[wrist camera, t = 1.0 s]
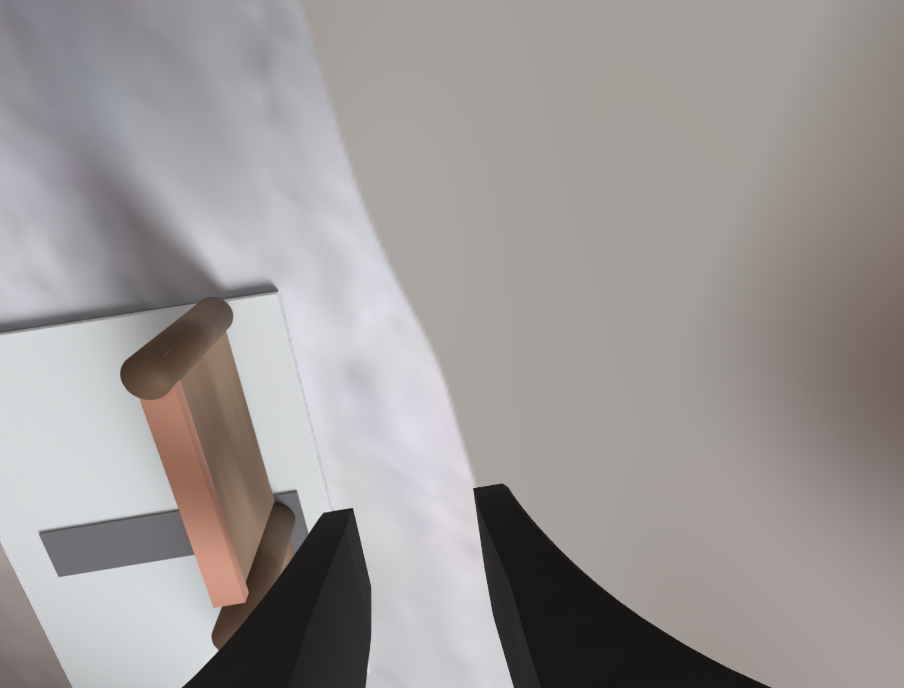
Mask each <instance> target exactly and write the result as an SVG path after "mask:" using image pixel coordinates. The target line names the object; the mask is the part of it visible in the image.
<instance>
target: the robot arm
mask: <svg viewBox="0 0 904 688" xmlns="http://www.w3.org/2000/svg"><path fill="white" fill-rule="evenodd" d="M473 490H474V497H475V504H476V511H477V518H478V525H479V532H480V539H481V547H482V554H483V561H484V568H485V573H486V579H487V584H488V590H489V595H490V601H491V606H492V612H493V617H494V620H495V624H496V627H497V631H498V634H499V638H500V641H501V644H502V648H503V651H504V655H505V658H506V662H507V665H508V669H509V672H510V676H511V679H512V682H513V686H514V688H771V687H768V686H766V685H764V684H762V683H760V682H757V681H755V680H753V679H751V678H749V677H747V676H745V675H742V674H740V673H738V672H735V671H734V670H731V669H729V668H727V667H725V666H723V665H721V664H720V663H718V662H716V661H714V660H712V659H710V658H708V657H706V656H705V655H703V654H701V653H699V652H697V651H695V650H694V649H692V648H690V647H688V646H686V645H685V644H683V643H681V642H680V641H678V640H676V639H675V638H673V637H672V636H670V635H668V634H667V633H665V632H664V631H662V630H661V629H659V628H657V627H656V626H654V625H653V624H651V623H650V622H648V621H646V620H645V619H643V618H641V617H640V616H639V615H638V614H636V613H635V612H633V611H632V610H631V609H629V608H628V607H626V606H625V605H624V604H622V603H621V602H620V601H618V600H617V599H616V598H615V597H613V596H612V595H611V594H609V593H608V592H607V591H606V590H604V589H603V588H602V587H600V586H599V585H598V584H597V583H596V582H595V581H593V580H592V579H591V578H590V577H589V576H588V575H586V574H585V573H584V572H583V571H582V570H581V569H580V568H579V567H578V566H577V565H575V564H574V563H573V562H572V561H571V560H570V559H569V558H568V557H567V556H566V555H565V554H564V553H563V552H562V551H561V550H560V549H559V548H558V547H557V546H556V545H555V544H554V543H553V542H552V541H551V540H550V539H549V538H548V537H547V535H546V534H545V533H544V532H543V531H542V530H541V529H540V528H539V527H538V526H537V525H536V523H535V522H534V521H533V520H532V519H531V518H530V516H529V515H528V514H527V513H526V512H525V510H524V509H523V508H522V506H521V505H520V504H519V502H518V501H517V500H516V498H515V497H514V496H513V494H512V493H511V491H510V489H509V488H508V487H507V486H505V485H504V484H496V485H490V486H484V487H478V488H473ZM370 642H371V584H370V580H369V576H368V571H367V567H366V563H365V558H364V554H363V550H362V545H361V541H360V537H359V532H358V528H357V523H356V519H355V515H354V510H353V508H349V509H343V510H337V511H331V512H325V513H323V514H322V515H321V516H320V518H319V519H318V520H317V522H316V523H315V525H314V526H313V528H312V529H311V531H310V532H309V534H308V535H307V537H306V538H305V540H304V541H303V543H302V544H301V546H300V547H299V549H298V550H297V552H296V553H295V555H294V556H293V557H292V559H291V560H290V562H289V563H288V565H287V566H286V567H285V569H284V570H283V572H282V573H281V574H280V576H279V577H278V578H277V580H276V581H275V583H274V584H273V585H272V587H271V588H270V589H269V591H268V592H267V593H266V595H265V596H264V597H263V599H262V600H261V601H260V602H259V604H258V605H257V606H256V607H255V609H254V610H253V611H252V612H251V614H250V615H249V616H248V617H247V619H246V620H245V621H244V622H243V624H242V625H241V626H240V627H239V628H238V630H237V631H236V632H235V633H234V634H233V635H232V637H231V638H230V639H229V640H228V641H227V642H226V643H225V644H224V645H223V647H222V648H221V649H220V650H219V651H218V652H217V653H216V654H215V655H214V656H213V657H212V658H211V659H210V660H209V661H208V662H207V663H206V664H205V666H204V667H203V668H202V669H201V670H200V671H199V672H198V673H197V674H196V675H195V676H194V677H193V678H192V679H190V680H189V681H188V682H187V683H186V684H185V685H184V686H183V687H182V688H365V686H366V677H367V669H368V660H369V651H370Z"/></svg>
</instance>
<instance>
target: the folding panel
mask: <svg viewBox="0 0 904 688" xmlns="http://www.w3.org/2000/svg"><path fill="white" fill-rule="evenodd" d="M232 322H233V311H232V309H231V307H230V306H229V305H228V304H227V303H226V302H225V301H224V300H222V299H219V298H215V297H209V298H205V299H203V300H202V301H200V302H199V303H198V304H196V305H195V306H194V307H193V308H191V309H190V310H189V311H187V312H186V313H185V314H184V315H182V316H181V317H180V318H179V319H177V320H176V321H175V322H173V323H172V324H171V325H170V326H168V327H167V328H166V329H165V330H163V331H162V332H161V333H159V334H158V335H157V336H156V337H154V338H153V339H152V340H151V341H149V342H148V343H147V344H145V345H144V346H143V347H142V348H140V349H139V350H138V351H137V352H135V353H134V354H133V355H131V356H130V357H129V358H128V359H126V360H125V361H124V363H123V364H122V366H121V370H120V378H121V381H122V384H123V385H124V387H125V388H126V390H127V391H128V392H130V393H131V394H132V395H134V396H136V397H138V398H139V399H140V402H141V405H142V408H143V411H144V413H145V416H146V419H147V422H148V425H149V428H150V430H151V433H152V436H153V439H154V442H155V444H156V447H157V450H158V453H159V456H160V459H161V461H162V464H163V467H164V470H165V473H166V475H167V478H168V481H169V484H170V487H171V490H172V492H173V495H174V498H175V501H176V504H177V506H178V509H179V512H180V515H181V518H182V521H183V523H184V526H185V529H186V532H187V535H188V537H189V540H190V543H191V546H192V549H193V552H194V554H195V557H196V560H197V563H198V566H199V568H200V571H201V574H202V577H203V580H204V582H205V585H206V588H207V591H208V594H209V597H210V599H211V602H212V605H213V608H216V607H222V606H228V605H234V604H240V603H245V602H246V599H247V596H248V593H249V591H248V588H247V585H246V580H247V577H248V574H249V571H250V569H251V566H252V563H253V560H254V557H255V555H256V552H257V549H258V546H259V543H260V540H261V538H262V535H263V532H264V529H265V526H266V524H267V521H268V518H269V515H270V512H271V510H272V507H273V504H274V497H273V494H272V490H271V487H270V483H269V480H268V476H267V473H266V469H265V466H264V462H263V459H262V455H261V452H260V448H259V445H258V441H257V438H256V434H255V431H254V427H253V424H252V420H251V417H250V413H249V409H248V406H247V402H246V399H245V395H244V392H243V388H242V385H241V381H240V378H239V374H238V371H237V367H236V364H235V360H234V357H233V353H232V350H231V346H230V343H229V339H228V336H227V332H226V331H227V329H228V328H229V327H230V326H231V325H232Z"/></svg>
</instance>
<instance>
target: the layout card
mask: <svg viewBox="0 0 904 688" xmlns="http://www.w3.org/2000/svg"><path fill="white" fill-rule="evenodd" d="M222 300H224V301H225V302H226V303H227V304H228V305H229V306H230V307H231V309H232V311H233V322H232V325H231V326H230V327H229V328H228V329H227V331H226V332H227V336H228V339H229V343H230V346H231V350H232V353H233V357H234V360H235V364H236V367H237V371H238V374H239V378H240V381H241V385H242V388H243V392H244V395H245V399H246V402H247V406H248V409H249V413H250V417H251V420H252V424H253V427H254V431H255V434H256V438H257V441H258V445H259V448H260V452H261V455H262V459H263V462H264V466H265V469H266V473H267V476H268V480H269V483H270V487H271V490H272V494H273V497H274V503H280V504H283V505H286V506H287V507H289V508H290V509H291V510H292V511H293V513H294V515H295V524H294V527H293V531H292V534H291V538H290V540H291V543H292V547H293V550H294V554H295V553H296V552H297V550H298V549H299V547H300V546H301V544H302V543H303V541H304V540H305V538H306V537H307V535H308V534H309V532H310V531H311V529H312V528H313V526H314V525H315V523H316V522H317V520H318V519H319V518H320V516H321V515H322V514H323V513H325V512H331V511H333V510H332V506H331V502H330V498H329V494H328V490H327V486H326V482H325V478H324V474H323V469H322V465H321V461H320V457H319V453H318V449H317V445H316V441H315V437H314V433H313V429H312V425H311V421H310V416H309V412H308V408H307V404H306V400H305V396H304V392H303V388H302V384H301V380H300V376H299V372H298V367H297V363H296V359H295V355H294V351H293V347H292V343H291V339H290V335H289V331H288V327H287V323H286V318H285V314H284V310H283V306H282V302H281V298H280V294H279V291H276V292H269V293H262V294H256V295H249V296H242V297H236V298H229V299H222ZM196 304H198V303H196ZM196 304H189V305H182V306H176V307H169V308H162V309H156V310H149V311H142V312H136V313H129V314H122V315H116V316H109V317H102V318H96V319H89V320H82V321H76V322H69V323H62V324H56V325H49V326H42V327H36V328H29V329H22V330H16V331H9V332H2V333H0V542H1V544H2V546H3V548H4V550H5V552H6V554H7V556H8V558H9V560H10V562H11V565H12V567H13V569H14V571H15V573H16V575H17V577H18V579H19V581H20V583H21V585H22V587H23V589H24V591H25V593H26V595H27V597H28V599H29V601H30V603H31V605H32V607H33V609H34V611H35V613H36V615H37V617H38V619H39V621H40V623H41V625H42V627H43V629H44V631H45V633H46V635H47V637H48V639H49V641H50V643H51V645H52V647H53V650H54V652H55V654H56V656H57V658H58V660H59V662H60V664H61V666H62V668H63V670H64V672H65V674H66V676H67V678H68V680H69V682H70V684H71V686H72V688H182V687H183V686H184V685H185V684H186V683H187V682H188V681H189V680H190V679H192V678H193V677H194V676H195V675H196V674H197V673H198V672H199V671H200V670H201V669H202V668H203V667H204V666H205V664H206V663H207V662H208V661H209V660H210V659H211V658H212V657H213V656H214V655H215V654H216V653H217V652H218V651H219V650H218V649H217V648H216V647H215V646H214V644H213V642H212V639H211V634H212V631H213V628H214V626H215V623H216V621H217V618H218V616H219V613H220V610H221V608H222V607H216V608H213V605H212V602H211V599H210V597H209V594H208V591H207V588H206V585H205V582H204V580H203V577H202V574H201V571H200V568H199V566H198V563H197V560H196V557H195V554H194V552H193V549H192V546H191V543H190V540H189V537H188V535H187V532H186V529H185V526H184V523H183V521H182V518H181V515H180V512H179V509H178V506H177V504H176V501H175V498H174V495H173V492H172V490H171V487H170V484H169V481H168V478H167V475H166V473H165V470H164V467H163V464H162V461H161V459H160V456H159V453H158V450H157V447H156V444H155V442H154V439H153V436H152V433H151V430H150V428H149V425H148V422H147V419H146V416H145V413H144V411H143V408H142V405H141V402H140V399H139V398H138V397H136V396H134V395H132V394H131V393H130V392H128V391H127V390H126V388H125V387H124V385H123V384H122V381H121V378H120V370H121V366H122V364H123V363H124V361H125V360H126V359H128V358H129V357H130V356H131V355H133V354H134V353H135V352H137V351H138V350H139V349H140V348H142V347H143V346H144V345H145V344H147V343H148V342H149V341H151V340H152V339H153V338H154V337H156V336H157V335H158V334H159V333H161V332H162V331H163V330H165V329H166V328H167V327H168V326H170V325H171V324H172V323H173V322H175V321H176V320H177V319H179V318H180V317H181V316H182V315H184V314H185V313H186V312H187V311H189V310H190V309H191V308H193V307H194V306H195V305H196ZM367 673H370V661H369V660H368V669H367Z"/></svg>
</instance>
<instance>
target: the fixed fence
mask: <svg viewBox="0 0 904 688" xmlns="http://www.w3.org/2000/svg"><path fill="white" fill-rule="evenodd" d="M294 524H295V515H294V513H293V511H292V510H291V509H290V508H289V507H287V506H286V505H283V504H280V503H274V504H273V507H272V510H271V512H270V515H269V518H268V521H267V524H266V526H265V529H264V532H263V535H262V538H261V540H260V543H259V546H258V549H257V552H256V555H255V557H254V560H253V563H252V566H251V569H250V571H249V574H248V577H247V580H246V585H247V588H248V591H249V593H248V596H247V599H246V602H245V603H240V604H234V605H228V606H222V608H221V610H220V613H219V616H218V618H217V621H216V623H215V626H214V628H213V631H212V634H211V639H212V642H213V644H214V646H215V647H216V648H217V649H218V650H220V649H221V648H222V647H223V645H224V644H225V643H226V642H227V641H228V640H229V639H230V638H231V637H232V635H233V634H234V633H235V632H236V631H237V630H238V628H239V627H240V626H241V625H242V624H243V622H244V621H245V620H246V619H247V617H248V616H249V615H250V614H251V612H252V611H253V610H254V609H255V607H256V606H257V605H258V604H259V602H260V601H261V600H262V599H263V597H264V596H265V595H266V593H267V592H268V591H269V589H270V588H271V587H272V585H273V584H274V583H275V581H276V580H277V578H278V577H279V576H280V574H281V573H282V572H283V570H284V569H285V567H286V566H287V565H288V563H289V562H290V560H291V559H292V557H293V556H294V555H295V554H294V550H293V547H292V543H291V540H290V538H291V534H292V531H293V527H294Z"/></svg>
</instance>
